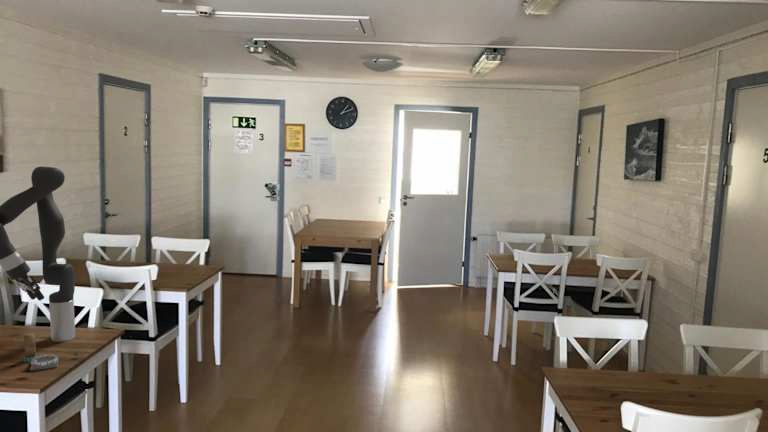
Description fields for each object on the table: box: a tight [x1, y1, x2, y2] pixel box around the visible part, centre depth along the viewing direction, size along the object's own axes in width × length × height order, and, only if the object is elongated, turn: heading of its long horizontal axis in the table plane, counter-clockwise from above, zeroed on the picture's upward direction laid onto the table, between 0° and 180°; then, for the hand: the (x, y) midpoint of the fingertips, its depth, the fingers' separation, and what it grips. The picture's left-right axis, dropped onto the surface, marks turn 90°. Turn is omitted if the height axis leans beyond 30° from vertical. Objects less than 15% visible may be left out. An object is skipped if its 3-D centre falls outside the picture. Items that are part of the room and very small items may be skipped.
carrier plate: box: [29, 354, 59, 372], centre depth 219 cm, size 9×9×2 cm
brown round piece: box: [21, 333, 40, 363], centre depth 224 cm, size 6×6×10 cm
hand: (38, 298), depth 226 cm, fingers open, 8 cm apart
